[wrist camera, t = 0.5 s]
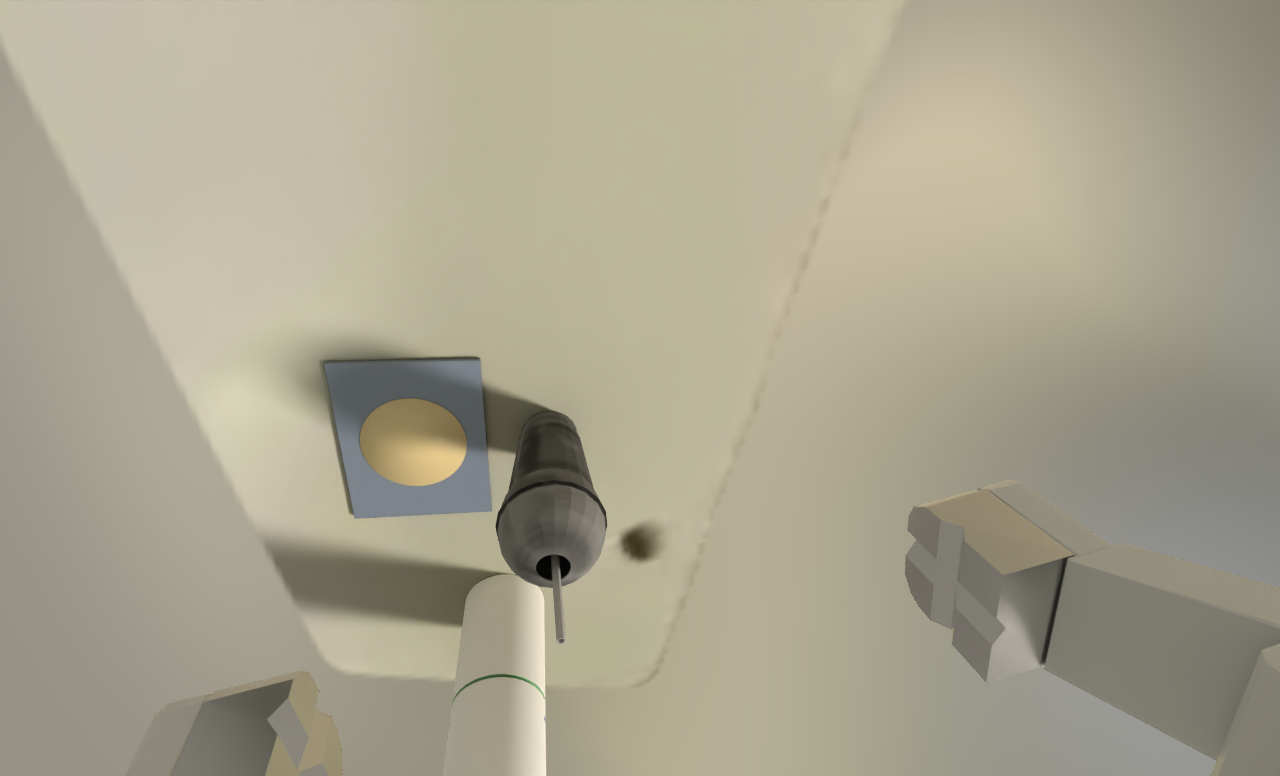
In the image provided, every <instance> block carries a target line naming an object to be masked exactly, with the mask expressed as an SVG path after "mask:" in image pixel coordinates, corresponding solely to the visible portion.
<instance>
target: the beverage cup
mask: <svg viewBox="0 0 1280 776" xmlns="http://www.w3.org/2000/svg"><path fill="white" fill-rule="evenodd" d="M606 528H607V518H606V511H605V509H604V507H603V505H602V504H601V502H600V500H599V498H598V496H597V494H596V492H595V491H594V488H593V485H592V481H591V477H590V474H589V470H588V466H587V463H586V459H585V455H584V452H583V448H582V444H581V441H580V437H579V436H578V433H577V431H576V427H575V425H574V423H573V421H571V420H570V419H569V418H568V417H567V416H565V415H563V414H561V413H559V412H553V411H547V412H541V413H538V414H536V415H533V416H532V417H531V418H530V419H529V420H527V421H526V423H525V425H524V426H523V428H522V433H521V436H520V438H519V443H518V448H517V453H516V457H515V462H514V467H513V472H512V477H511V481H510V486H509V491H508V493H507V495H506V496H505V499H504V501H503V504H502V507H501V509H500V511H499V512H498V516H497V521H496V531H497V536H498V541H499V544H500V549H501V553H502V556H503V557H504V559H505V561H506V562H507V564H508V565H509V567H510V568H511V570H512V571H513V572H514V573H515V574H516V575H518V576H519V577H520V578H522V579H523V580H524V581H526V582H528V583H531V584H534V585H536V586H539V587H549V588H553V595H554V610H555V624H556V639H557V643H559V644H563V643H564V642H565V640H566V638H565V625H564V612H563V600H562V587H561V586H565V585H568V584H570V583H573V582H575V581H577V580H578V579H579V578H581V577H582V576H583V575H585V574H586V573H587V572H588V571H589V570H590V569H591V568H592V566H593V565H594V563H595V562H596V561H597V559H598V558H599V556H600V554H601V550H602V547H603V544H604V540H605V532H606Z"/></svg>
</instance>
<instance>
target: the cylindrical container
mask: <svg viewBox="0 0 1280 776" xmlns="http://www.w3.org/2000/svg"><path fill="white" fill-rule="evenodd" d="M545 736H546V731H545V643H544V597H543V594H542V592H541V590H540V589H539V587H538V586H536V585H534V584H531V583H528V582H526V581H524V580H523V579H522V578H520V577H519V576H517V575H512V574H502V575H495V576H492V577H488V578H486V579H484V580H482V581H480V582H479V583H477V584H476V585H475V586H474V587H473V588H472V589H471V590H470V592H469V593H468V595H467V598H466V602H465V610H464V617H463V625H462V633H461V640H460V648H459V656H458V663H457V671H456V679H455V686H454V694H453V702H452V709H451V717H450V725H449V732H448V740H447V748H446V755H445V763H444V771H443V776H546V737H545Z"/></svg>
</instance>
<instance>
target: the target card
mask: <svg viewBox="0 0 1280 776" xmlns="http://www.w3.org/2000/svg"><path fill="white" fill-rule="evenodd" d="M324 367H325V372H326V377H327V382H328V387H329V392H330V397H331V402H332V407H333V412H334V417H335V422H336V427H337V432H338V437H339V442H340V447H341V452H342V457H343V462H344V467H345V472H346V477H347V482H348V487H349V493H350V498H351V503H352V508H353V513H354V518H355V519H357V518H376V517H394V516H413V515H432V514H450V513H469V512H488V511H492V502H491V490H490V477H489V465H488V452H487V439H486V427H485V414H484V402H483V389H482V376H481V364H480V358H470V359H423V360H377V361H330V362H325V363H324Z"/></svg>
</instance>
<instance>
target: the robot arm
mask: <svg viewBox="0 0 1280 776" xmlns="http://www.w3.org/2000/svg"><path fill="white" fill-rule="evenodd" d="M908 531H909V533H911V535H912V536H913V537H914V538H915V539H916V541H915V543H914V544H913V545H912V547H911V548H910V550H909V551H908V553H907V554H906V561H905V575H906V578H907V582H908V585H909V588H910V591H911V594H912V596H913V597H914V599H915V601H916V602H917V604H918V606H919V607H920V608H921V610H922V611H923V612H924V613H925V614H926V615H927V617H928V618H929V619H930V620H931V621H934V622H936V623H938V624H941V625H943V626H945V627H947V628H950V629H951V635H952V645H953V646H954V647H955V648H956V649H957V650H958V652H959V653H960V654H961V655H962V656H963V657H964V658H965V659H966V660H967V661H968V663H969V664H970V665H971V666H972V667H973V668H974V669H975V670H976V672H977V673H978V674H979V675H980V676H981V677H982V678H983V679H984V681H986V682H990V681H993V680H997V679H1000V678H1004V677H1007V676H1011V675H1014V674H1017V673H1021V672H1024V671H1028V670H1031V669H1035V668H1038V667H1041V666H1045V667H1044V669H1045V670H1047V671H1048V672H1050V673H1052V674H1054V675H1056V676H1058V677H1060V678H1062V679H1063V680H1065V681H1067V682H1069V683H1071V684H1073V685H1075V686H1077V687H1078V688H1080V689H1082V690H1084V691H1086V692H1088V693H1090V694H1092V695H1094V696H1095V697H1098V698H1099V699H1101V700H1103V701H1105V702H1107V703H1109V704H1111V705H1113V706H1114V707H1116V708H1118V709H1120V710H1122V711H1124V712H1126V713H1127V714H1129V715H1132V716H1133V717H1135V718H1137V719H1139V720H1141V721H1143V722H1145V723H1146V724H1148V725H1150V726H1152V727H1154V728H1156V729H1158V730H1160V731H1162V732H1163V733H1165V734H1167V735H1169V736H1171V737H1173V738H1175V739H1177V740H1178V741H1181V742H1182V743H1184V744H1186V745H1188V746H1190V747H1192V748H1193V749H1195V750H1197V751H1199V752H1201V753H1203V754H1205V755H1207V756H1209V757H1211V758H1212V759H1214V760H1216V764H1215V766H1214V769H1213V771H1212V774H1211V776H1280V588H1279V587H1276V586H1272V585H1268V584H1265V583H1262V582H1258V581H1254V580H1251V579H1248V578H1244V577H1240V576H1237V575H1233V574H1230V573H1227V572H1223V571H1219V570H1216V569H1212V568H1209V567H1205V566H1202V565H1198V564H1195V563H1191V562H1188V561H1184V560H1181V559H1177V558H1174V557H1170V556H1167V555H1163V554H1160V553H1156V552H1153V551H1149V550H1146V549H1142V548H1139V547H1135V546H1131V545H1128V544H1125V543H1119V544H1116V545H1111V544H1109V543H1108V542H1106V541H1105V540H1103V539H1102V538H1100V537H1099V536H1098V535H1096V534H1094V533H1093V532H1092V531H1090V530H1089V529H1087V528H1086V527H1084V526H1083V525H1082V524H1080V523H1079V522H1077V521H1076V520H1074V519H1073V518H1071V517H1070V516H1069V515H1067V514H1066V513H1064V512H1063V511H1061V510H1060V509H1058V508H1057V507H1055V506H1054V505H1053V504H1051V503H1050V502H1048V501H1047V500H1045V499H1044V498H1042V497H1041V496H1040V495H1038V494H1037V493H1035V492H1034V491H1032V490H1031V489H1030V488H1028V487H1026V486H1025V485H1024V484H1022V483H1020V482H1017V481H1013V480H1006V481H1002V482H999V483H996V484H992V485H989V486H985V487H982V488H978V489H977V490H973V491H969V492H965V493H962V494H958V495H954V496H951V497H947V498H944V499H940V500H936V501H933V502H929V503H926V504H922V505H918V506H915V507H914V508H913V509H912V511H911V513H910V515H909V521H908ZM318 695H319V690H318V688H317V686H316V684H315V682H314V680H313V678H312V677H311V675H310V673H309V672H305V671H297V672H293V673H289V674H285V675H281V676H276V677H272V678H268V679H265V680H260V681H256V682H252V683H248V684H244V685H240V686H235V687H231V688H227V689H223V690H219V691H215V692H213V693H212V694H207V695H203V696H199V697H194V698H190V699H186V700H182V701H177V702H174V703H169V704H167V705H166V706H165V707H164V708H162V709H161V710H160V711H159V712H158V713H157V714H156V715H155V716H154V718H153V720H152V722H151V724H150V726H149V728H148V730H147V732H146V734H145V736H144V738H143V740H142V742H141V744H140V746H139V748H138V750H137V752H136V754H135V756H134V758H133V760H132V762H131V764H130V766H129V768H128V770H127V772H126V774H125V776H343V762H342V746H341V742H340V738H339V733H338V730H337V727H336V725H335V723H334V721H333V719H332V717H331V716H329V715H328V714H325V713H323V712H321V711H319V710H317V709H315V708H316V704H317V699H318Z"/></svg>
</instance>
